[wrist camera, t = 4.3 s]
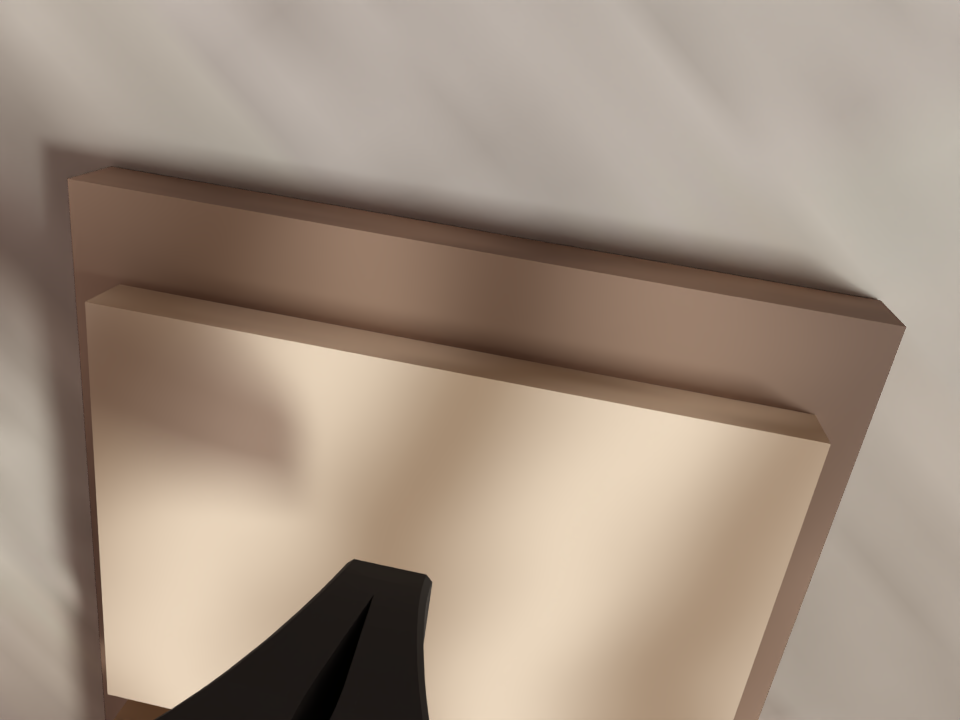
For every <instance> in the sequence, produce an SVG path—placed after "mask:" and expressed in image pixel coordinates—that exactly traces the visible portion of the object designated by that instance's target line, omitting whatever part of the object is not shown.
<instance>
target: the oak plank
mask: <svg viewBox="0 0 960 720" xmlns="http://www.w3.org/2000/svg"><path fill="white" fill-rule="evenodd" d="M85 311H86V328H87V345H88V362H89V380H90V397H91V414H92V432H93V449H94V466H95V484H96V501H97V518H98V535H99V553H100V570H101V587H102V605H103V622H104V639H105V656H106V674H107V691H108V694H109V695H113V696H118V697H122V698H126V699H130V700H135V701H139V702H143V703H147V704H152V705H156V706H160V707H164V708H169V709H172V708H174V707H175V706H177V705H178V704H180V703H181V702H183V701H184V700H186V699H187V698H189V697H190V696H192V695H193V694H195V693H196V692H198V691H199V690H201V689H202V688H203V687H205V686H206V685H208V684H209V683H211V682H212V681H213V680H215V679H216V678H217V677H219V676H220V675H222V674H223V673H224V672H226V671H227V670H228V669H230V668H231V667H232V666H233V665H235V664H236V663H237V662H238V661H240V660H241V659H242V658H243V657H245V656H246V655H247V654H249V653H250V652H251V651H252V650H254V649H255V648H256V647H257V646H259V645H260V644H261V643H262V642H264V641H265V640H266V639H267V638H268V637H270V636H271V635H272V634H273V633H274V632H275V631H276V630H278V629H279V628H280V627H281V626H282V625H283V624H284V623H285V622H287V621H288V620H289V619H290V618H291V617H292V616H293V615H295V614H296V613H297V612H298V611H299V610H300V609H301V608H302V607H303V606H304V605H305V604H307V603H308V602H309V601H310V600H311V599H312V598H313V597H314V596H315V595H316V594H317V593H318V592H319V591H320V590H321V589H322V588H323V587H324V586H325V585H326V584H327V583H328V582H329V581H330V580H331V579H332V578H333V577H334V576H335V575H336V574H337V573H338V572H339V571H340V570H341V569H342V568H343V567H344V566H345V565H346V563H348V562H350V561H351V560H353V559H357V560H361V561H366V562H371V563H375V564H380V565H385V566H389V567H394V568H399V569H403V570H408V571H413V572H417V573H422V574H427V576H428V577H429V578H430V579H431V581H432V589H431V596H430V603H429V610H428V617H427V624H426V631H425V638H424V670H425V686H426V697H427V706H428V714H429V720H733V719H734V717H735V714H736V711H737V708H738V705H739V702H740V700H741V697H742V694H743V691H744V688H745V685H746V683H747V680H748V677H749V674H750V671H751V669H752V666H753V663H754V660H755V657H756V654H757V652H758V649H759V646H760V643H761V640H762V637H763V635H764V632H765V629H766V626H767V623H768V620H769V618H770V615H771V612H772V609H773V606H774V603H775V601H776V598H777V595H778V592H779V589H780V587H781V584H782V581H783V578H784V575H785V572H786V570H787V567H788V564H789V561H790V558H791V555H792V553H793V550H794V547H795V544H796V541H797V538H798V536H799V533H800V530H801V527H802V524H803V521H804V519H805V516H806V513H807V510H808V507H809V505H810V502H811V499H812V496H813V493H814V490H815V488H816V485H817V482H818V479H819V476H820V473H821V471H822V468H823V465H824V462H825V459H826V456H827V454H828V451H829V448H830V445H831V443H830V441H829V440H828V438H827V436H826V434H825V432H824V430H823V428H822V426H821V425H820V423H819V421H818V419H817V417H816V415H813V414H808V413H803V412H797V411H792V410H787V409H781V408H776V407H771V406H765V405H760V404H755V403H749V402H744V401H739V400H733V399H728V398H723V397H717V396H712V395H707V394H701V393H696V392H691V391H685V390H680V389H675V388H669V387H664V386H659V385H653V384H648V383H643V382H637V381H632V380H627V379H621V378H616V377H611V376H606V375H600V374H595V373H590V372H584V371H579V370H574V369H568V368H563V367H558V366H552V365H547V364H542V363H536V362H531V361H526V360H520V359H515V358H510V357H504V356H499V355H494V354H488V353H483V352H478V351H472V350H467V349H462V348H456V347H451V346H446V345H440V344H435V343H430V342H424V341H419V340H414V339H408V338H403V337H398V336H392V335H387V334H382V333H376V332H371V331H366V330H360V329H355V328H350V327H344V326H339V325H334V324H328V323H323V322H318V321H312V320H307V319H302V318H296V317H291V316H286V315H281V314H275V313H270V312H265V311H259V310H254V309H249V308H243V307H238V306H233V305H227V304H222V303H217V302H211V301H206V300H201V299H195V298H190V297H185V296H179V295H174V294H169V293H163V292H158V291H153V290H147V289H142V288H137V287H131V286H126V285H121V284H120V285H118V286H116V287H114V288H112V289H110V290H108V291H106V292H104V293H102V294H100V295H98V296H96V297H94V298H92V299H90V300H88V301H86V302H85Z"/></svg>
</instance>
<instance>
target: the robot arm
mask: <svg viewBox="0 0 960 720" xmlns="http://www.w3.org/2000/svg"><path fill="white" fill-rule="evenodd" d="M431 589H432V581H431V579H430V578H429V577H428V576H427V574H422V573H417V572H413V571H408V570H403V569H399V568H394V567H389V566H385V565H380V564H375V563H371V562H366V561H361V560H357V559H353V560H351V561H350V562H348V563H346V565H345V566H344V567H343V568H342V569H341V570H340V571H339V572H338V573H337V574H336V575H335V576H334V577H333V578H332V579H331V580H330V581H329V582H328V583H327V584H326V585H325V586H324V587H323V588H322V589H321V590H320V591H319V592H318V593H317V594H316V595H315V596H314V597H313V598H312V599H311V600H310V601H309V602H308V603H307V604H305V605H304V606H303V607H302V608H301V609H300V610H299V611H298V612H297V613H296V614H295V615H293V616H292V617H291V618H290V619H289V620H288V621H287V622H285V623H284V624H283V625H282V626H281V627H280V628H279V629H278V630H276V631H275V632H274V633H273V634H272V635H271V636H270V637H268V638H267V639H266V640H265V641H264V642H262V643H261V644H260V645H259V646H257V647H256V648H255V649H254V650H252V651H251V652H250V653H249V654H247V655H246V656H245V657H243V658H242V659H241V660H240V661H238V662H237V663H236V664H235V665H233V666H232V667H231V668H230V669H228V670H227V671H226V672H224V673H223V674H222V675H220V676H219V677H217V678H216V679H215V680H213V681H212V682H211V683H209V684H208V685H206V686H205V687H203V688H202V689H201V690H199V691H198V692H196V693H195V694H193V695H192V696H190V697H189V698H187V699H186V700H184V701H183V702H181V703H180V704H178V705H177V706H175V707H174V708H172V709H171V710H169V711H167V712H166V713H164V714H162V715H161V716H159V717H157V718H156V719H154V720H429V714H428V706H427V697H426V686H425V670H424V638H425V631H426V624H427V617H428V610H429V603H430V596H431Z"/></svg>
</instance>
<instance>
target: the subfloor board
mask: <svg viewBox="0 0 960 720" xmlns="http://www.w3.org/2000/svg"><path fill="white" fill-rule="evenodd" d="M67 182H68V196H69V210H70V224H71V239H72V253H73V267H74V281H75V296H76V310H77V324H78V338H79V352H80V367H81V381H82V395H83V409H84V424H85V438H86V452H87V466H88V480H89V495H90V509H91V523H92V537H93V552H94V566H95V580H96V594H97V609H98V623H99V637H100V651H101V665H102V680H103V694H104V708H105V720H154V719H156V718H157V717H159V716H161V715H162V714H164V713H166V712H167V711H169V710H171V709H169V708H164V707H160V706H156V705H152V704H147V703H143V702H139V701H135V700H130V699H126V698H122V697H118V696H113V695H109V694H108V691H107V674H106V656H105V639H104V622H103V605H102V587H101V570H100V553H99V535H98V518H97V501H96V484H95V466H94V449H93V432H92V414H91V397H90V380H89V362H88V345H87V328H86V311H85V302H86V301H88V300H90V299H92V298H94V297H96V296H98V295H100V294H102V293H104V292H106V291H108V290H110V289H112V288H114V287H116V286H118V285H120V284H121V285H126V286H131V287H137V288H142V289H147V290H153V291H158V292H163V293H169V294H174V295H179V296H185V297H190V298H195V299H201V300H206V301H211V302H217V303H222V304H227V305H233V306H238V307H243V308H249V309H254V310H259V311H265V312H270V313H275V314H281V315H286V316H291V317H296V318H302V319H307V320H312V321H318V322H323V323H328V324H334V325H339V326H344V327H350V328H355V329H360V330H366V331H371V332H376V333H382V334H387V335H392V336H398V337H403V338H408V339H414V340H419V341H424V342H430V343H435V344H440V345H446V346H451V347H456V348H462V349H467V350H472V351H478V352H483V353H488V354H494V355H499V356H504V357H510V358H515V359H520V360H526V361H531V362H536V363H542V364H547V365H552V366H558V367H563V368H568V369H574V370H579V371H584V372H590V373H595V374H600V375H606V376H611V377H616V378H621V379H627V380H632V381H637V382H643V383H648V384H653V385H659V386H664V387H669V388H675V389H680V390H685V391H691V392H696V393H701V394H707V395H712V396H717V397H723V398H728V399H733V400H739V401H744V402H749V403H755V404H760V405H765V406H771V407H776V408H781V409H787V410H792V411H797V412H803V413H808V414H813V415H816V417H817V419H818V421H819V423H820V425H821V426H822V428H823V430H824V432H825V434H826V436H827V438H828V440H829V441H830V443H831V445H830V448H829V451H828V454H827V456H826V459H825V462H824V465H823V468H822V471H821V473H820V476H819V479H818V482H817V485H816V488H815V490H814V493H813V496H812V499H811V502H810V505H809V507H808V510H807V513H806V516H805V519H804V521H803V524H802V527H801V530H800V533H799V536H798V538H797V541H796V544H795V547H794V550H793V553H792V555H791V558H790V561H789V564H788V567H787V570H786V572H785V575H784V578H783V581H782V584H781V587H780V589H779V592H778V595H777V598H776V601H775V603H774V606H773V609H772V612H771V615H770V618H769V620H768V623H767V626H766V629H765V632H764V635H763V637H762V640H761V643H760V646H759V649H758V652H757V654H756V657H755V660H754V663H753V666H752V669H751V671H750V674H749V677H748V680H747V683H746V685H745V688H744V691H743V694H742V697H741V700H740V702H739V705H738V708H737V711H736V714H735V717H734V719H733V720H758V718H759V716H760V713H761V711H762V708H763V705H764V703H765V700H766V697H767V695H768V692H769V689H770V687H771V684H772V681H773V679H774V676H775V673H776V671H777V668H778V665H779V663H780V660H781V657H782V655H783V652H784V650H785V647H786V644H787V642H788V639H789V636H790V634H791V631H792V628H793V626H794V623H795V620H796V618H797V615H798V612H799V610H800V607H801V604H802V602H803V599H804V596H805V594H806V591H807V589H808V586H809V583H810V581H811V578H812V575H813V573H814V570H815V567H816V565H817V562H818V559H819V557H820V554H821V551H822V549H823V546H824V543H825V541H826V538H827V535H828V533H829V530H830V528H831V525H832V522H833V520H834V517H835V514H836V512H837V509H838V506H839V504H840V501H841V498H842V496H843V493H844V490H845V488H846V485H847V482H848V480H849V477H850V474H851V472H852V469H853V467H854V464H855V461H856V459H857V456H858V453H859V451H860V448H861V445H862V443H863V440H864V437H865V435H866V432H867V429H868V427H869V424H870V421H871V419H872V416H873V414H874V411H875V408H876V406H877V403H878V400H879V398H880V395H881V392H882V390H883V387H884V384H885V382H886V379H887V376H888V374H889V371H890V368H891V366H892V363H893V360H894V358H895V355H896V353H897V350H898V347H899V345H900V342H901V339H902V337H903V334H904V331H905V329H906V326H905V325H904V324H903V323H902V322H901V321H900V320H899V319H898V318H897V317H896V316H895V315H894V314H893V313H892V312H891V311H890V310H889V309H888V308H887V307H886V306H885V305H884V304H883V303H882V301H880V300H874V299H869V298H863V297H857V296H851V295H846V294H840V293H834V292H828V291H823V290H817V289H811V288H805V287H800V286H794V285H788V284H783V283H777V282H771V281H765V280H760V279H754V278H748V277H742V276H737V275H731V274H725V273H719V272H714V271H708V270H702V269H696V268H691V267H685V266H679V265H674V264H668V263H662V262H656V261H651V260H645V259H639V258H633V257H628V256H622V255H616V254H610V253H605V252H599V251H593V250H588V249H582V248H576V247H570V246H565V245H559V244H553V243H547V242H542V241H536V240H530V239H524V238H519V237H513V236H507V235H501V234H496V233H490V232H484V231H479V230H473V229H467V228H461V227H456V226H450V225H444V224H438V223H433V222H427V221H421V220H415V219H410V218H404V217H398V216H393V215H387V214H381V213H375V212H370V211H364V210H358V209H352V208H347V207H341V206H335V205H329V204H324V203H318V202H312V201H307V200H301V199H295V198H289V197H284V196H278V195H272V194H266V193H261V192H255V191H249V190H243V189H238V188H232V187H226V186H220V185H215V184H209V183H203V182H198V181H192V180H186V179H180V178H175V177H169V176H163V175H157V174H152V173H146V172H140V171H134V170H129V169H123V168H117V167H112V166H111V167H107V168H104V169H100V170H97V171H93V172H89V173H86V174H82V175H79V176H75V177H72V178H68V179H67Z"/></svg>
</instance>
